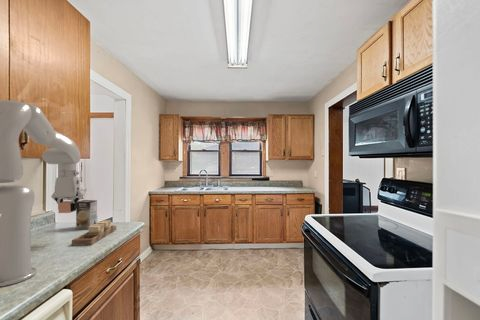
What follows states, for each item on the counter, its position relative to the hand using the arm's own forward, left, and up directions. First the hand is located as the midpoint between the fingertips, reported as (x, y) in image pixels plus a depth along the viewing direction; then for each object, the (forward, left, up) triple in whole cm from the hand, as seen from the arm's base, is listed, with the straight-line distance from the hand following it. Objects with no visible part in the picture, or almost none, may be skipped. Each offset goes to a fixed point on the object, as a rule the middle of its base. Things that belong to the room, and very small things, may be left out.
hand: (67, 210), depth 119 cm
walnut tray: (+12, -2, -15) cm, 20 cm away
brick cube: (0, 0, -1) cm, 1 cm away
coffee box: (+14, +22, -16) cm, 30 cm away
